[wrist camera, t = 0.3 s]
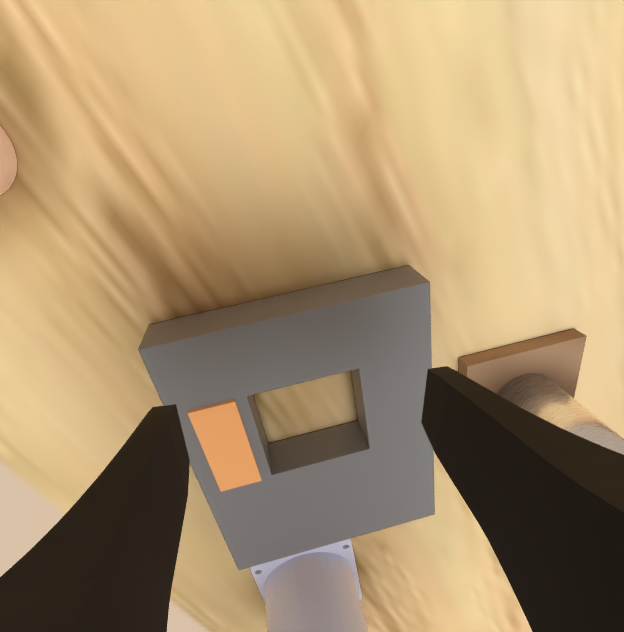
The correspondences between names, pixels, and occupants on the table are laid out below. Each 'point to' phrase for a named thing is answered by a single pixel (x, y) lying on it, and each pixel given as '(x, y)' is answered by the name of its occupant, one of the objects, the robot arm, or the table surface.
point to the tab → (529, 361)
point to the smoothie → (6, 162)
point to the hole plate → (316, 447)
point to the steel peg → (559, 409)
